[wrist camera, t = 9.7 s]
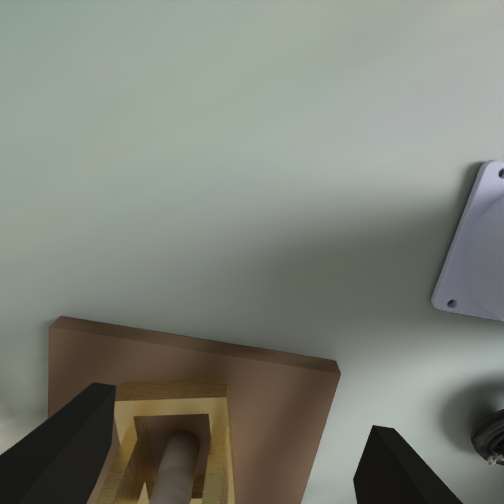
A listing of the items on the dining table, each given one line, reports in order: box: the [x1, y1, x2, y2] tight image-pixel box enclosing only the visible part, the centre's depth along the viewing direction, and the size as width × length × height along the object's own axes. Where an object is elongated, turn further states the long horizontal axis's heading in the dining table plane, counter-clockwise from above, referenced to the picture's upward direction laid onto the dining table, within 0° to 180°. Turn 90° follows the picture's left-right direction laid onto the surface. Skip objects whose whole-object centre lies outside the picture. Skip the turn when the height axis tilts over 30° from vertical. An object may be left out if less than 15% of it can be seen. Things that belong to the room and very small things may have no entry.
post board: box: [48, 316, 341, 504], centre depth 19 cm, size 16×13×6 cm
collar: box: [95, 379, 237, 504], centre depth 18 cm, size 6×8×6 cm
